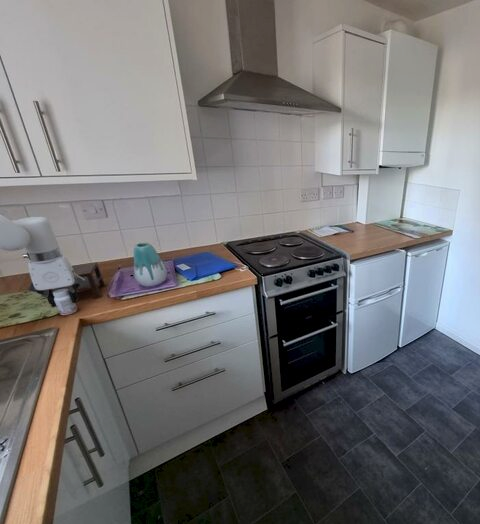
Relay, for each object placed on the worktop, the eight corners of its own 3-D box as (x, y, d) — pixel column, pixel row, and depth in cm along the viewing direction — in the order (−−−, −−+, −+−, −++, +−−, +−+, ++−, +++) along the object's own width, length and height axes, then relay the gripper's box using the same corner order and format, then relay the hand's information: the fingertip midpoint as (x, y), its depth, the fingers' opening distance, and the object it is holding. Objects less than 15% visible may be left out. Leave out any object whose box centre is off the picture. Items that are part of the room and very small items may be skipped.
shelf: (52, 306, 110) (40, 280, 106) (62, 292, 120) (51, 268, 116) (99, 297, 117) (90, 272, 112) (105, 284, 126) (96, 261, 122)
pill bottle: (58, 312, 106) (50, 291, 103) (76, 307, 110) (68, 286, 106) (61, 317, 103) (52, 295, 100) (79, 311, 107) (70, 290, 104)
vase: (173, 283, 128) (162, 243, 121) (141, 292, 120) (128, 251, 113) (164, 274, 135) (154, 237, 128) (134, 283, 128) (122, 243, 121)
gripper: (4, 263, 91) (28, 314, 98) (76, 254, 99) (93, 302, 106) (15, 255, 97) (36, 304, 104) (81, 247, 105) (97, 293, 112)
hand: (65, 302), depth 105 cm, fingers closed on pill bottle, 4 cm apart
